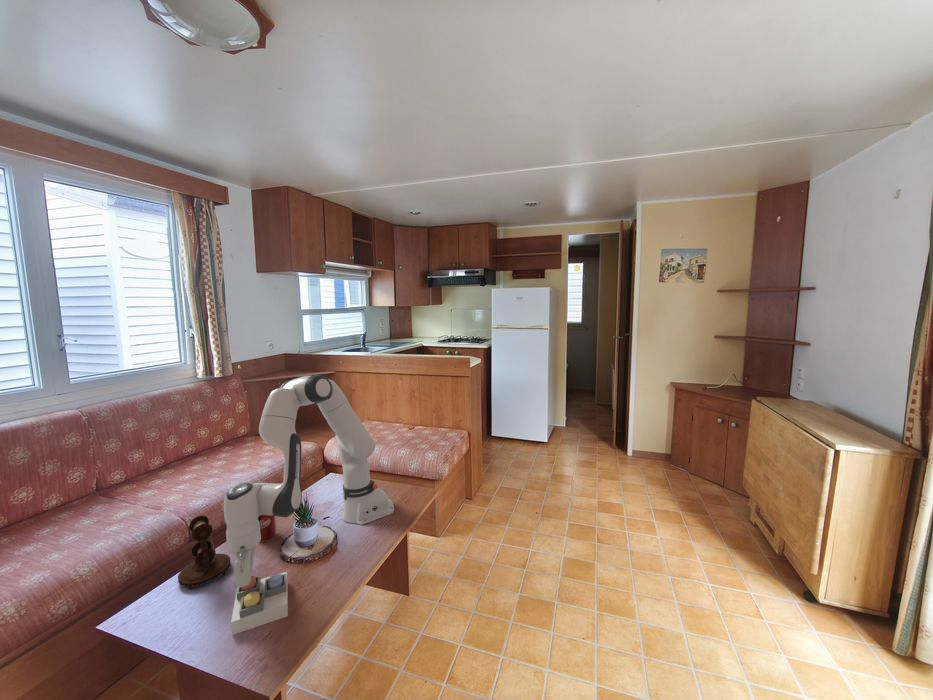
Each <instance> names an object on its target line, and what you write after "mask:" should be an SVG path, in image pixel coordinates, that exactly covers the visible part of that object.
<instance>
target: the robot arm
mask: <svg viewBox="0 0 933 700" xmlns="http://www.w3.org/2000/svg"><path fill="white" fill-rule="evenodd" d="M313 404H316V405H317V406H318V408H319V411H320V412H321V414H322V416H323V417H324V419H325V421H326V422H327V424H328V426H329V427H330V428H331V430H332V431H333V432H334V433H335V440H336V442H337V447H338V454H339V458H340V461H341V466H342V476H343V484H342V496H343V509H342V513H341V519H342V520H343V521H345V522H347V523H349V524H350V523H351V524H357V525H360V526H361V525H366V524H368V523H370V522H373V521H376V520H378V519H381V518H384V517H386V516H389V515H392V514H393V513H394V511H395V506H394V503H393V501H392V500H391V499H390V498H388V496H387V493H386V492H385V491H384V490H382V489H381V488H378V487H379V486H378V485H377V483H376V482H375V480H373V479H372V478H371V473H370V472H371V471H370V462H369V461H368V458H369V457H371V456H372V455H373V454H374V452H375V450H376V442H375V440H374V439H373V436H371V434H370V432H369V431H368V429H367V428H366V427H365V425H364V424H363V423H362V420H360V418H359V417H358V415H357V414H356V413H355V411H354V409H353V407H352V406H351V404H350V402H349V400H348V398H347V397H346V394H345V393H344V392H343V391H342V388H340V387H339V385H338V384H337V383H336V382H335V381H334V380H332V379H329V378H328V377H326V376H325V375H322V374H321V375H320V374H313V375H305V376H300V377H296V378H293V379H289V380H286V381H285V382H283V383H282V384H281V386H279V388H275V389H273V390H272V391H271V392H270V393H269V395H268V397H267V399H266V401H265V404H264V407H263V410H262V412H261V413H262V414H261V418H260V421H259V425H258V434H259V436H260V438H261V439H262V441H264V442H265V443H266V444H268V445H270V446H272V447H274V448H276V449H278V450H279V451H281V453H282V454H283V457H284V460H283V461H284V463H283V481H282V483H274V482H272V483H270V482H255V483H251V482H242V483H238V484H236V485H234V486H232V487H231V488H229V490H227V491H226V493H225V496H224V501H223V518H224V523H225V525H226V530H225V537H226V547H227V551H228V552H230V553H233V555H235V559H234V581H235V582H234V584H235V587H236V589H237V588H240V587H243V586H247V585H249V584H250V582H251V576H253V574H252V573H253V566H254V559H255V551H256V548H257V547H258V545H259V543H261V542H260V540H261V533H260V523H259V521H258V517H259V516H260V515H274V516H275V517H278V518H279V517H280V518H288V517H290V516H291V515H293V514H294V513H295V512H296V511H297V510H298V509H299V508H300V506H301V504H302V499H303V498H302V493H303V492H302V484H301V481H302V480H301V479H302V477H301V475H302V440H301V437H300V435H299V434H297V431H296V421H297V415H298V414H297V413H298V410H299V408H300V407H305V406H309V405H313Z"/></svg>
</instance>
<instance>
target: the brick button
mask: <svg viewBox="0 0 933 700" xmlns="http://www.w3.org/2000/svg"><path fill="white" fill-rule="evenodd" d="M255 587H256V576H255V575H251V582H250V584H249V585H247V586H243V587H241V591H245V590H248V589H252V588H255Z"/></svg>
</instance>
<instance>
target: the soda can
mask: <svg viewBox="0 0 933 700" xmlns="http://www.w3.org/2000/svg"><path fill="white" fill-rule="evenodd" d="M276 519H277V518H276V516H274V515H260V516H259V517H258V521H259V523H260V533H261V540H260V542H259V543H266V542H269V541H271V540H273V539H274V538H275V537H276V536H277V534H278V533H277V522H276V521H277V520H276Z"/></svg>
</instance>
